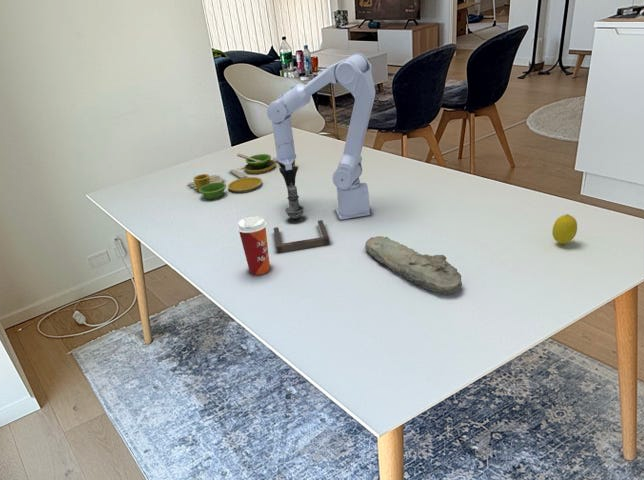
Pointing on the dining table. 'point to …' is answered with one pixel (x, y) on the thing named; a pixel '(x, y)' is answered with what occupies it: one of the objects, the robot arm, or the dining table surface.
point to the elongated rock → (416, 265)
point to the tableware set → (215, 187)
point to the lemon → (564, 229)
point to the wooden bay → (303, 243)
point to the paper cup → (255, 244)
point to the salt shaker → (294, 206)
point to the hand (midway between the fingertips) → (290, 185)
